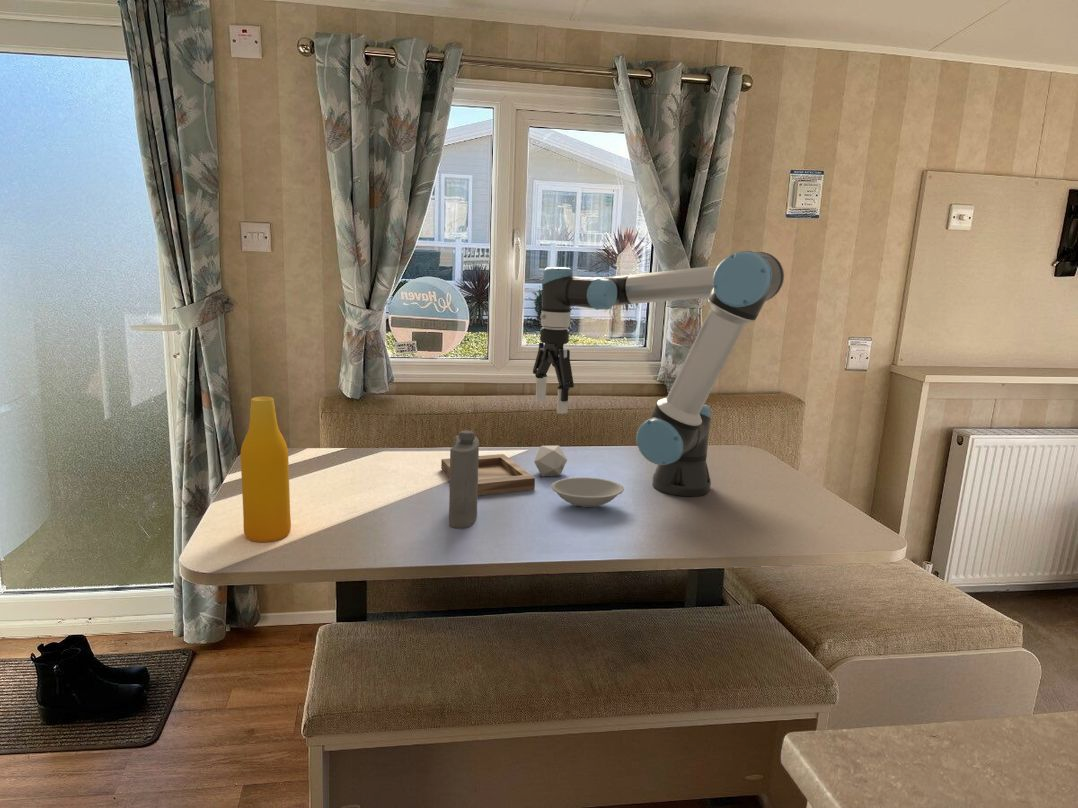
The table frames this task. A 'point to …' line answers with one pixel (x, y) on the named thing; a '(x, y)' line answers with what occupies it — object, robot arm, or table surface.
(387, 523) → the table surface
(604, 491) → the dish
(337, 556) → the table surface
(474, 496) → the flask
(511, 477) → the tray
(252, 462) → the beer bottle
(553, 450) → the die
